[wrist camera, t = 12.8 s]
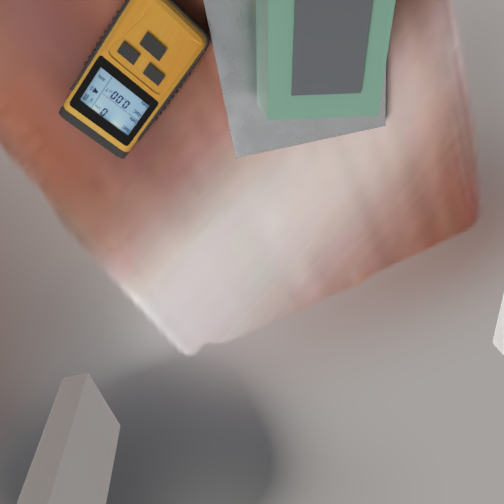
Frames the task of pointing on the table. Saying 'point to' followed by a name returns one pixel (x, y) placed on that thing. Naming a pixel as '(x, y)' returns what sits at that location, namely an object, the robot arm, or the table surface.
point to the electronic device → (134, 73)
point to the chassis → (245, 88)
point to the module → (321, 57)
